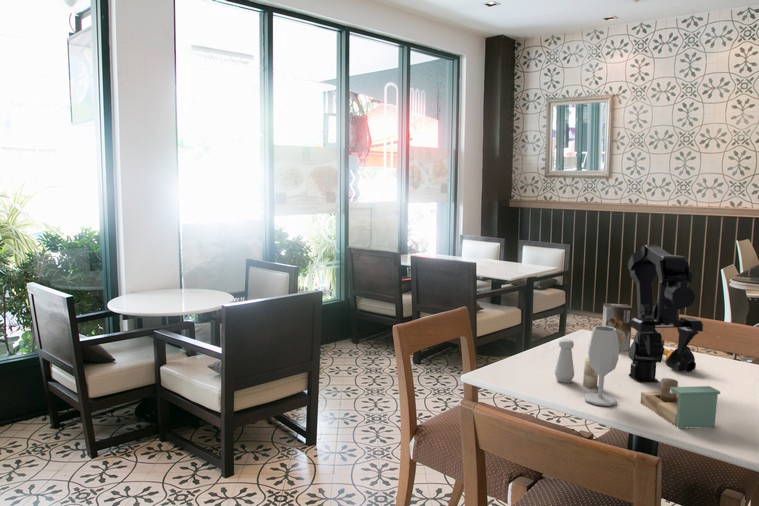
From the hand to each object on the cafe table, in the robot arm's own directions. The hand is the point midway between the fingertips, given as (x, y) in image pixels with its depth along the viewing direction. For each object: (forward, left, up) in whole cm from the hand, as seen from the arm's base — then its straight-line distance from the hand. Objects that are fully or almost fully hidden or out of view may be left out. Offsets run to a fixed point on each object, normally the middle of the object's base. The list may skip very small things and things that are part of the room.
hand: (664, 354), depth 172 cm
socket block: (+3, +11, -13) cm, 17 cm away
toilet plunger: (-22, -28, -13) cm, 38 cm away
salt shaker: (+22, -16, -13) cm, 30 cm away
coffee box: (-13, -50, -13) cm, 53 cm away
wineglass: (+19, +1, -13) cm, 23 cm away
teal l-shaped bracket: (+3, +19, -13) cm, 23 cm away
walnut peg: (+3, +8, -13) cm, 15 cm away
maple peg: (+16, -11, -13) cm, 23 cm away
